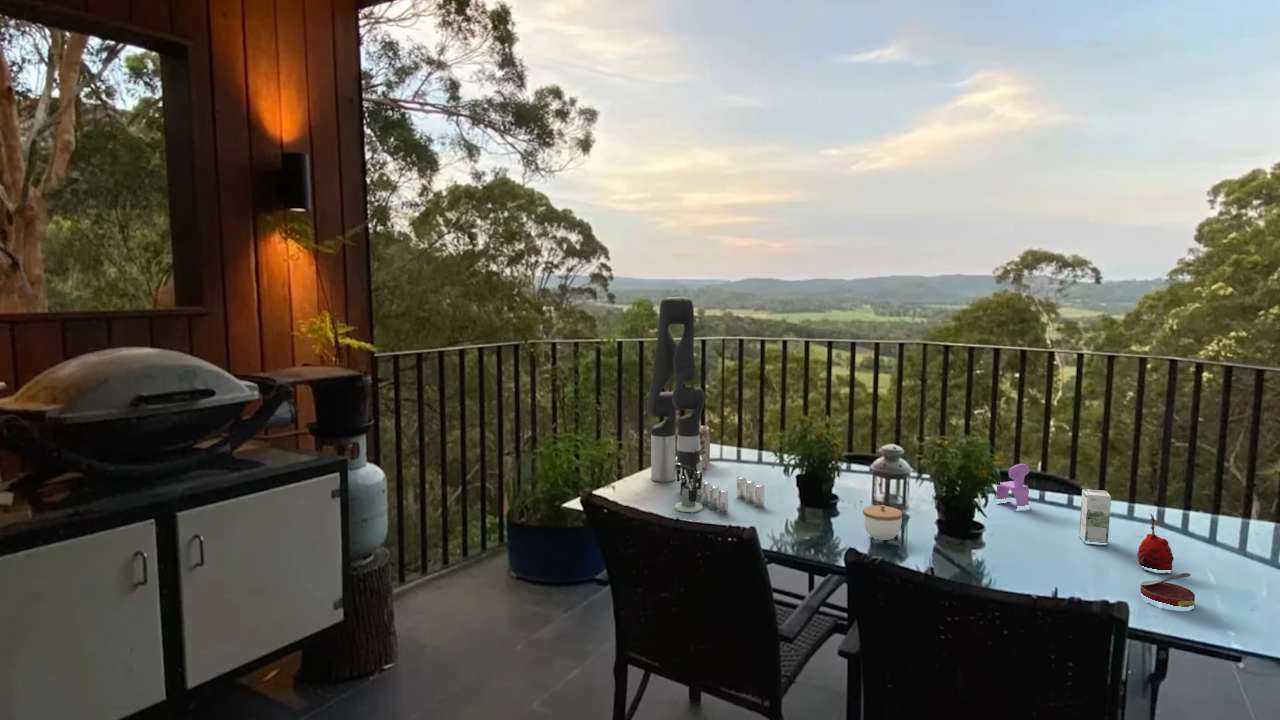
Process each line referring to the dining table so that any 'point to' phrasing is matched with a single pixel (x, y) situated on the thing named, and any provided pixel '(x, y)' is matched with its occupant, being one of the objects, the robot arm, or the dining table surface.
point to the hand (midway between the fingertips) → (688, 498)
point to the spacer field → (721, 496)
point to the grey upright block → (686, 497)
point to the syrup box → (1095, 515)
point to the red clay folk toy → (1155, 551)
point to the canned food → (1168, 592)
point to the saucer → (685, 509)
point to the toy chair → (1015, 485)
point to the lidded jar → (882, 521)
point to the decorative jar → (704, 445)
